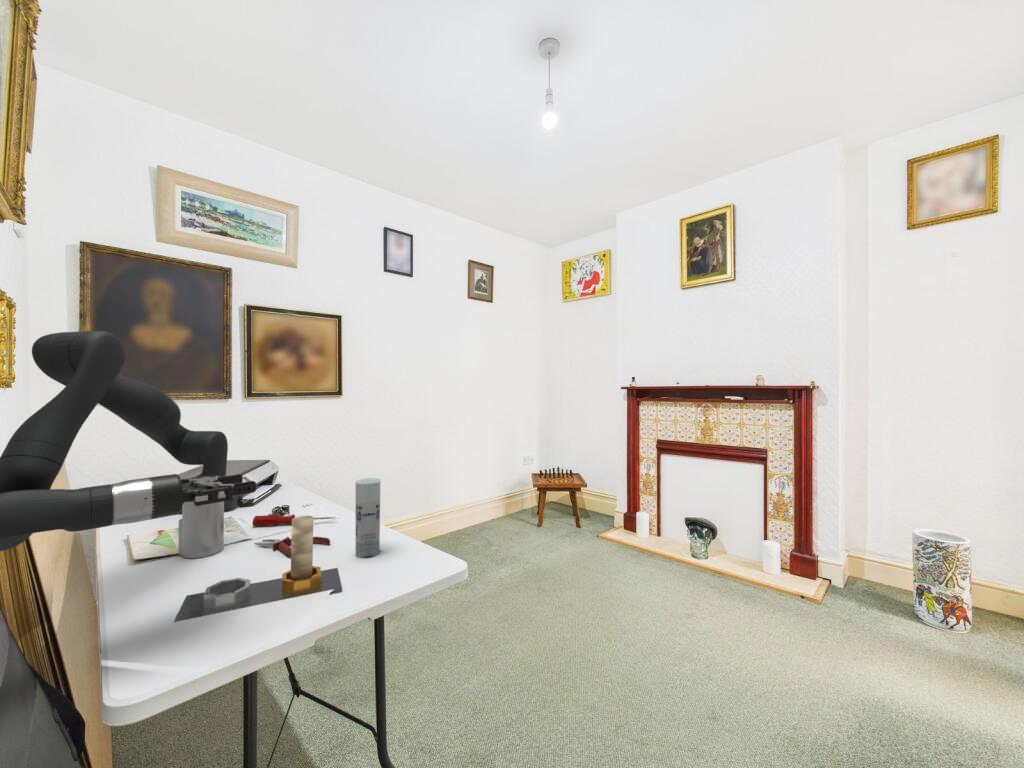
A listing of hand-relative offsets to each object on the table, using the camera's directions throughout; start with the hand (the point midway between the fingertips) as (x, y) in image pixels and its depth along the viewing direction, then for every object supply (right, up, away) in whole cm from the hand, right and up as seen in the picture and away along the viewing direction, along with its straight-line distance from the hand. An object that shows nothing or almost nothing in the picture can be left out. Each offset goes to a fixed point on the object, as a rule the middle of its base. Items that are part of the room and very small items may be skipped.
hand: (248, 482), depth 87 cm
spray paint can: (+15, -26, +27) cm, 41 cm away
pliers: (-7, -27, +32) cm, 42 cm away
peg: (+7, -25, +7) cm, 27 cm away
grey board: (+1, -26, +4) cm, 26 cm away
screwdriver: (-16, -26, +50) cm, 59 cm away
